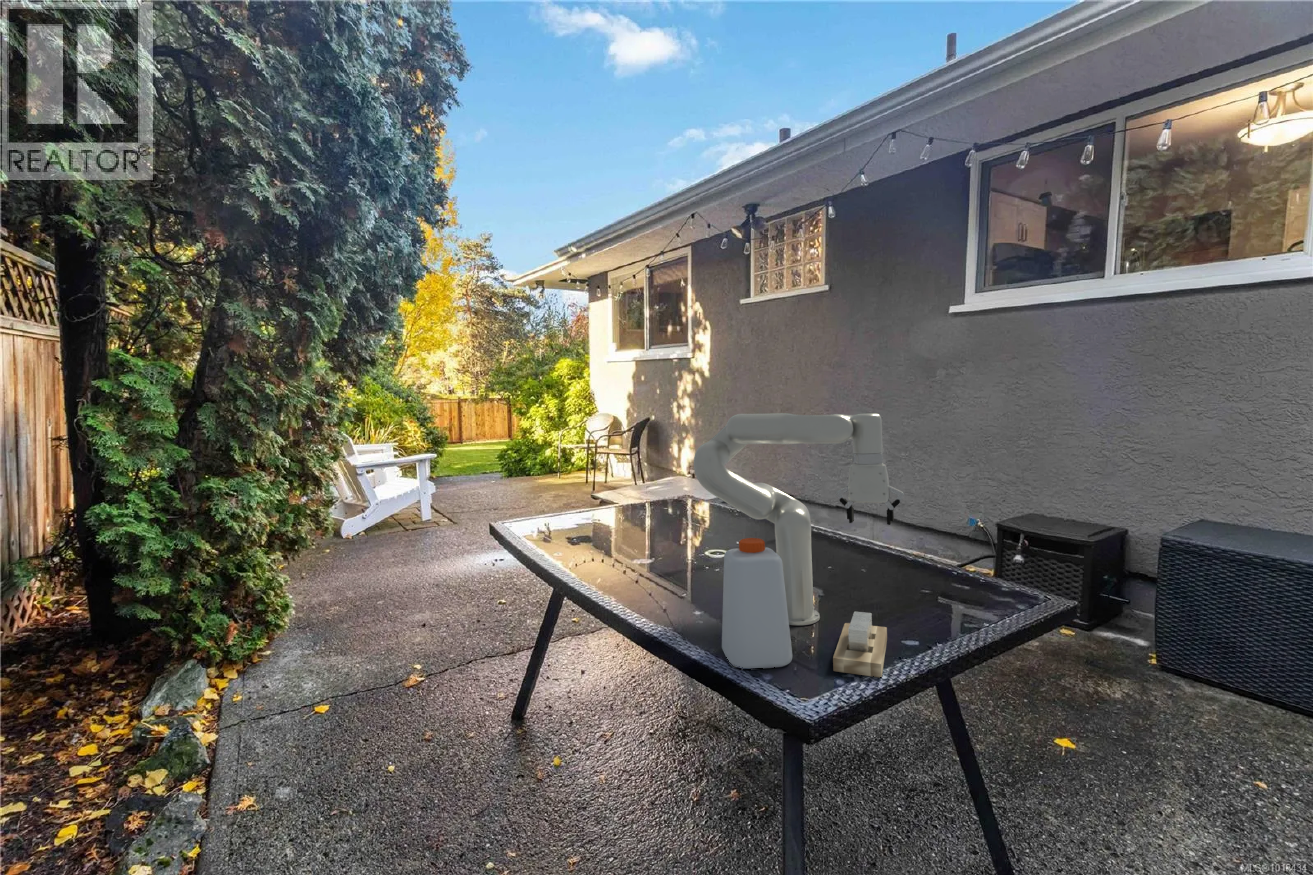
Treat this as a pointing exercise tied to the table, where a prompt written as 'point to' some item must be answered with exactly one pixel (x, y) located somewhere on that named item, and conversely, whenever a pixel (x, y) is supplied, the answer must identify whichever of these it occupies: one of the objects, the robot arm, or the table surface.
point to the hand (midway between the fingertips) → (870, 523)
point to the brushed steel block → (860, 631)
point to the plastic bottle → (755, 607)
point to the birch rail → (861, 654)
